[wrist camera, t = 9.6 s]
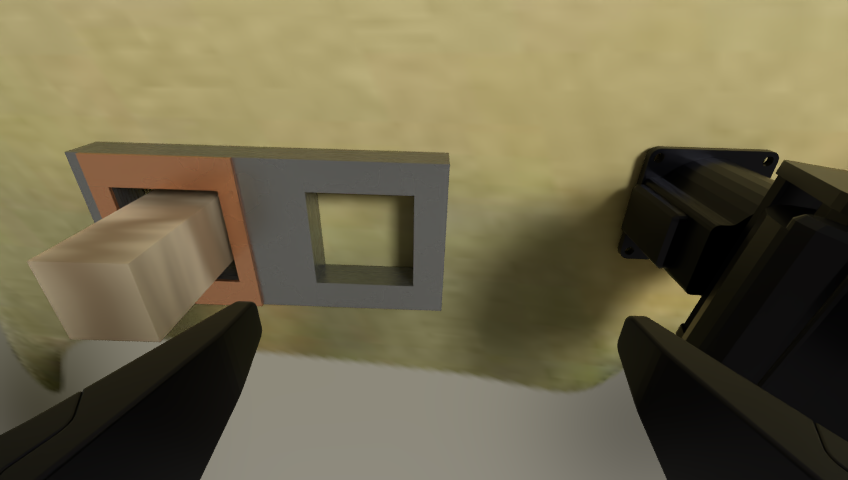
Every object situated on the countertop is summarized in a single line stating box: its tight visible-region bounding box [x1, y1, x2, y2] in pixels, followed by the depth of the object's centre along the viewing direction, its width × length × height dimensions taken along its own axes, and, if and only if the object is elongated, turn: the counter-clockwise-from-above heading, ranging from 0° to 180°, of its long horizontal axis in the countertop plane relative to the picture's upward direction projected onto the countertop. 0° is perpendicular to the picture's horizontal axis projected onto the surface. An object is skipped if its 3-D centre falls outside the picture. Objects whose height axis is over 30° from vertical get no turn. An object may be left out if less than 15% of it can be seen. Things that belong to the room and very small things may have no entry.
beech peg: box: [27, 189, 234, 342], centre depth 19 cm, size 4×4×8 cm
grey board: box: [65, 142, 450, 311], centre depth 22 cm, size 19×9×2 cm, turn 89°
